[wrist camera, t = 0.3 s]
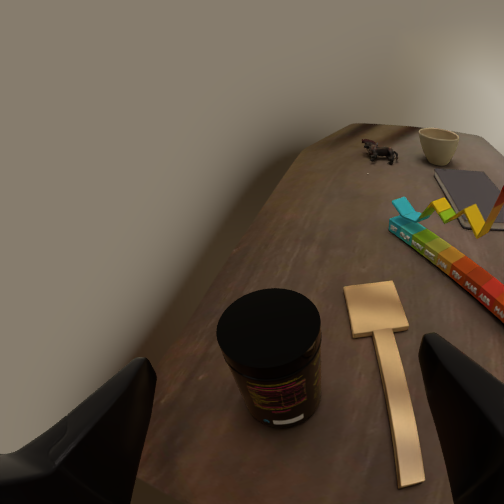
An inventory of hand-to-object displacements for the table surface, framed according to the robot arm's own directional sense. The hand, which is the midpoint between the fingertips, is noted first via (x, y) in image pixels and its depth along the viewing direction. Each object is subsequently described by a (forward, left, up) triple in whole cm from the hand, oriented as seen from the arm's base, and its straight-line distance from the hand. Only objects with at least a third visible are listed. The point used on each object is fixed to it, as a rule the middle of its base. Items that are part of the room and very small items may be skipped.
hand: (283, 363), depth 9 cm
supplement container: (+8, +2, -17) cm, 19 cm away
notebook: (+40, -35, -17) cm, 56 cm away
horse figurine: (+60, -21, -17) cm, 66 cm away
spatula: (+10, -8, -17) cm, 21 cm away
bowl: (+59, -36, -17) cm, 71 cm away
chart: (+19, -21, -17) cm, 33 cm away
